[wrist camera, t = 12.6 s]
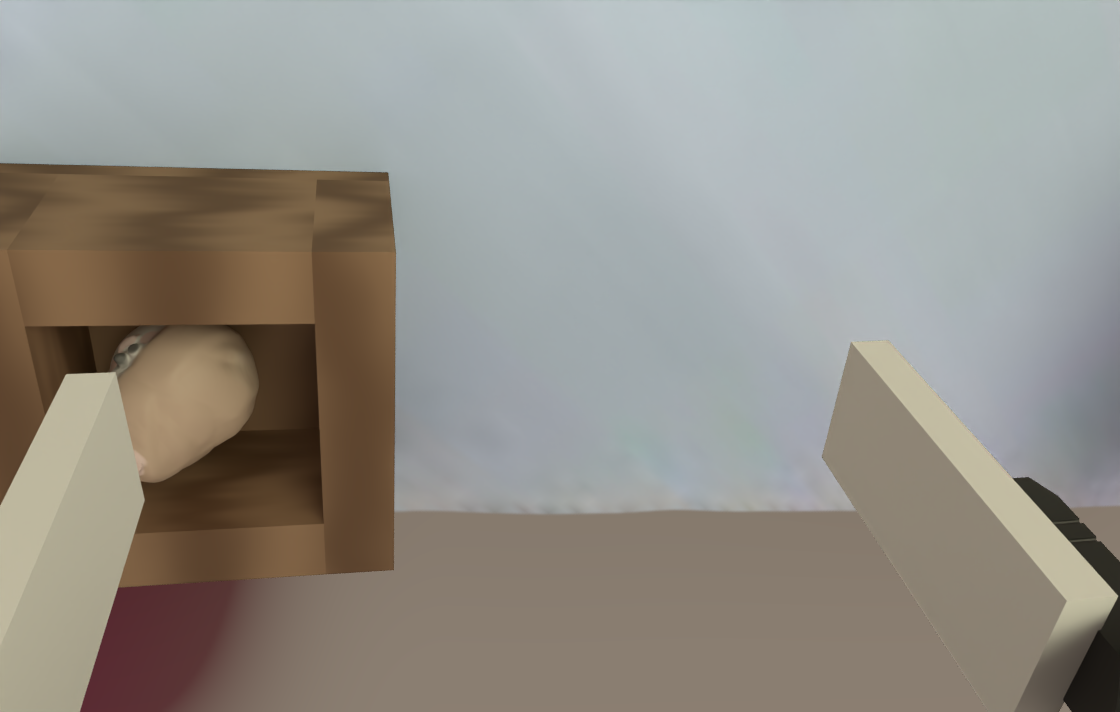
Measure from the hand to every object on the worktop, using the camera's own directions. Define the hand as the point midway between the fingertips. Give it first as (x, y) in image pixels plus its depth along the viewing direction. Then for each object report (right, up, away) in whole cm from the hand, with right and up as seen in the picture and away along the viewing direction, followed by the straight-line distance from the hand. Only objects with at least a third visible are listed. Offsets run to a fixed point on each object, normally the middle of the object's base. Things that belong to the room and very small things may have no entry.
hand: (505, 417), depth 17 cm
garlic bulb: (-16, +1, +26) cm, 30 cm away
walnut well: (-15, +2, +27) cm, 31 cm away
